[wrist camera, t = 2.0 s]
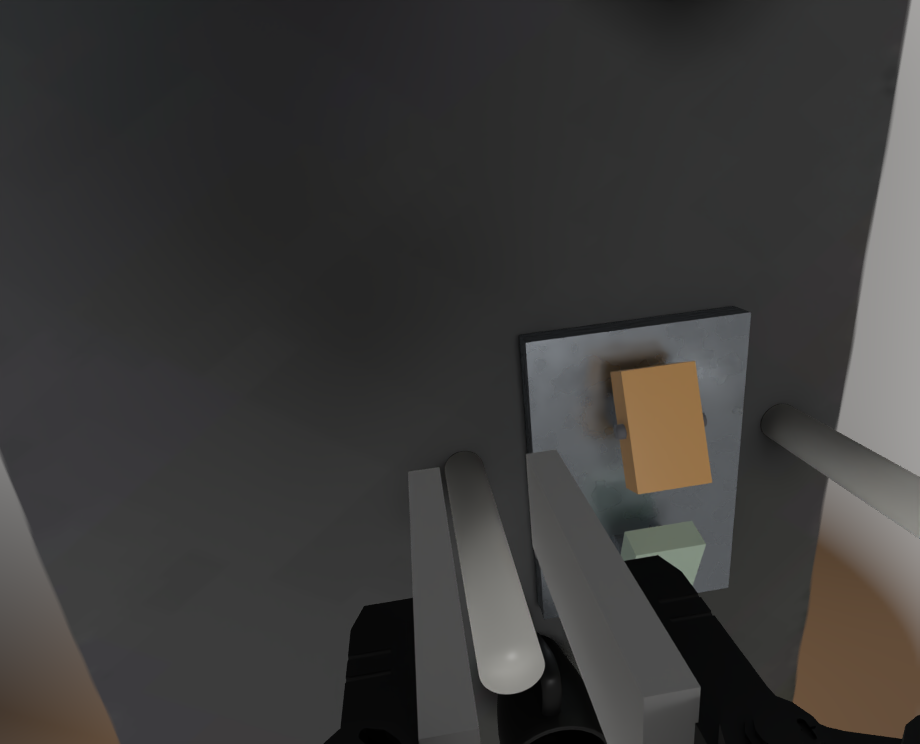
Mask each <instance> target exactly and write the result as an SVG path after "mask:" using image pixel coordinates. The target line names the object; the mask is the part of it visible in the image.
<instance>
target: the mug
mask: <svg viewBox="0 0 920 744" xmlns="http://www.w3.org/2000/svg"><path fill="white" fill-rule="evenodd" d="M536 635H537V638H538V642H539V645H540V648H541V651H542V654H543V658H544V662H545V668H544V672H543V674H542V676H541V678H540V679H539V680H538V681H537V682H536V683H535V684H534V685H533V686H532V687H530V688H528V689H527V690H524V691H522V692H519V693H515V694H499V693H498V704H497V717H498V733H499V739H500V744H607V742H606V739H605V736H604V734H603V731H602V729H601V726H600V723H599V721H598V718H597V715H596V713H595V710H594V707H593V705H592V702H591V699H590V697H589V694H588V692H587V689H586V686H585V684H584V681H583V679H582V678H581V676H580V675H579V673H578V672H577V670H576V669H575V668H574V666H573V665H572V664H571V662H570V661H569V660H568V658H567V657H566V656H565V655H564V653H563V652H562V651H561V650H560V648H559V646H558V645H557V644H556V643H555V642H554V641H553V640H551V639H550V638H548V637H545V636H541V635H540V634H539V633H538V632H536Z"/></svg>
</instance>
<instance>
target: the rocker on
mask: <svg viewBox="0 0 920 744" xmlns="http://www.w3.org/2000/svg"><path fill="white" fill-rule="evenodd" d="M705 546H706V543H705V541H704V540H703V538H702V536H701V535H700V533H699V531H698V530H697V528H696V527H695V525H694V523H693V522H692V521H687V522H681V523H675V524H669V525H663V526H656V527H650V528H644V529H638V530H632V531H626V532H624V538H623V543H622V549H621V557H622V558H623V560H624V561H626V560H632V559H638V558H644V557H650V556H656V555H659V556H660V557H662V558H663V559H664V560H666V561H667V562H669V563H670V564H672V565H673V566H675V567H676V568H677V569H679V570H680V571H682V572H683V574H684V575H685V576H686V578H687V579H688V581H689V582H690V583H691V585H692V586H693V583H694V580H695V577H696V574H697V572H698V570H699V565H700V562H701V558H702V555H703V552H704V549H705Z"/></svg>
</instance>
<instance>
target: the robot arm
mask: <svg viewBox="0 0 920 744" xmlns="http://www.w3.org/2000/svg"><path fill="white" fill-rule="evenodd" d="M526 462H527V476H528V490H529V504H530V518H531V532H532V546H533V549H534V551H535V554H536V557H537V559H538V562H539V565H540V567H541V570H542V572H543V575H544V578H545V580H546V583H547V586H548V588H549V591H550V594H551V596H552V599H553V602H554V604H555V607H556V610H557V612H558V615H559V617H560V620H561V623H562V625H563V628H564V631H565V633H566V636H567V639H568V641H569V644H570V647H571V649H572V652H573V654H574V657H575V660H576V662H577V665H578V668H579V670H580V673H581V676H582V678H583V681H584V684H585V686H586V689H587V692H588V694H589V697H590V699H591V702H592V705H593V707H594V710H595V713H596V715H597V718H598V721H599V723H600V726H601V729H602V731H603V734H604V736H605V739H606V742H607V744H920V715H918V716H916V717H915V718H914V719H913V720H911V721H910V722H909V723H908V724H907V725H906V726H905V730H904V734H903V738H902V739H898V738H891V737H884V736H876V735H869V734H861V733H854V732H847V731H842V730H838V729H833V728H829V727H826V726H823V725H821V724H819V723H818V722H817V721H816V719H814V717H813V716H811V715H810V714H809V713H807V712H805V711H804V710H803V709H801V708H800V707H798V706H797V705H796V704H794V703H793V702H790V701H788V700H785V699H783V698H780V697H777V696H775V695H774V694H773V692H772V691H771V690H770V689H769V688H768V687H767V686H766V684H765V683H764V682H763V680H762V679H761V678H760V676H759V675H758V674H757V672H756V671H755V669H754V668H753V667H752V665H751V664H750V663H749V661H748V660H747V659H746V657H745V656H744V655H743V653H742V652H741V651H740V649H739V648H738V647H737V645H736V644H735V643H734V641H733V640H732V638H731V637H730V636H729V634H728V633H727V632H726V630H725V629H724V628H723V626H722V625H721V624H720V622H719V621H718V620H717V618H716V617H715V616H712V614H711V610H710V609H709V607H708V606H707V605H706V603H705V602H704V601H703V599H702V598H701V597H699V596H698V593H697V591H696V590H695V589H694V587H693V586H692V585H691V583H690V582H689V581H688V579H687V578H686V576H685V575H684V574H683V572H682V571H680V570H679V569H677V568H676V567H675V566H673V565H672V564H670V563H669V562H667V561H666V560H664V559H663V558H662V557H660V556H659V555H656V556H650V557H644V558H638V559H632V560H626V561H624V560H623V558H622V557H621V555H620V554H619V552H618V550H617V549H616V547H615V545H614V544H613V542H612V540H611V539H610V537H609V535H608V534H607V532H606V530H605V529H604V527H603V526H602V524H601V522H600V521H599V519H598V517H597V516H596V514H595V512H594V511H593V509H592V507H591V506H590V504H589V503H588V501H587V499H586V498H585V496H584V494H583V493H582V491H581V489H580V488H579V486H578V484H577V483H576V481H575V480H574V478H573V476H572V475H571V473H570V471H569V470H568V468H567V466H566V465H565V463H564V461H563V460H562V458H561V457H560V455H559V453H558V452H557V450H549V451H543V452H536V453H530V454H526ZM408 483H409V508H410V534H411V560H412V586H413V598H410V599H404V600H398V601H392V602H386V603H380V604H374V605H368V606H364V607H363V609H362V611H361V613H360V614H359V616H358V618H357V620H356V621H355V623H354V625H353V627H352V629H351V633H350V643H349V652H348V662H347V671H346V683H345V691H344V700H343V710H342V719H341V729H339V730H338V731H337V732H336V733H335V734H334V735H333V736H331V737H330V738H329V739H328V740H327V741H326V742H325V743H324V744H481V740H480V733H479V726H478V719H477V712H476V706H475V699H474V693H473V686H472V679H471V673H470V666H469V660H468V653H467V646H466V640H465V633H464V627H463V620H462V613H461V607H460V600H459V594H458V587H457V580H456V574H455V567H454V561H453V554H452V547H451V541H450V534H449V528H448V521H447V514H446V508H445V501H444V494H443V488H442V481H441V475H440V468H439V467H437V468H430V469H423V470H417V471H410V472H408Z"/></svg>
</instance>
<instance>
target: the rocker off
mask: <svg viewBox="0 0 920 744" xmlns="http://www.w3.org/2000/svg"><path fill="white" fill-rule="evenodd" d="M610 375H611V382H612V389H613V397H614V404H615V411H616V418H617V425H614V429H613V430H614V435H615V438H616V439H617V440H620V447H621V454H622V461H623V468H624V475H625V483H626V488H627V489H629V490H631V491H633V492H634V493H636V494H645V493H651V492H657V491H663V490H670V489H676V488H682V487H689V486H695V485H701V484H708V483H712V477H711V470H710V463H709V456H708V449H707V441H706V434H705V427H706V425H707V418H706V415H705V414H704V413H703V412H702V406H701V399H700V391H699V384H698V377H697V370H696V363H695V361H687V362H676V363H669V364H662V365H655V366H648V367H641V368H634V369H627V370H620V371H613V372H610Z"/></svg>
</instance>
